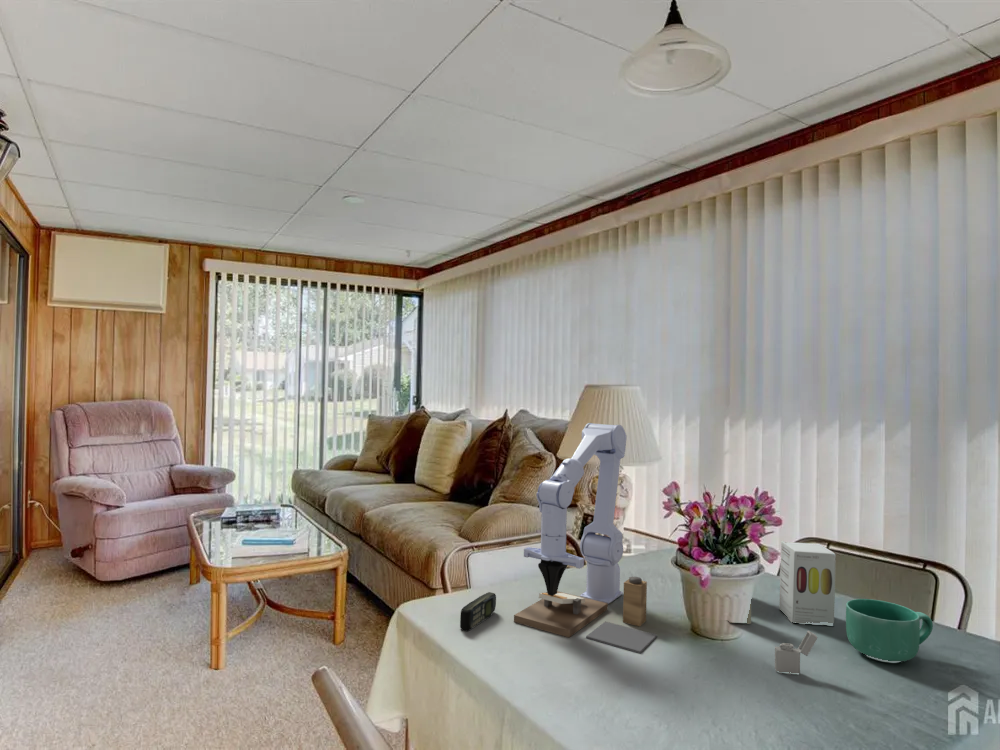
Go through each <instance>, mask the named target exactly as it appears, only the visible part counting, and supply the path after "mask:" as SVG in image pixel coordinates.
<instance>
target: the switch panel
mask: <svg viewBox="0 0 1000 750" xmlns="http://www.w3.org/2000/svg"><path fill="white" fill-rule="evenodd" d="M545 593H547V591H546V592H545ZM557 593H565V594H569V595H573V596H577V597H580V595H575V594H573V593H572V594H571V593H566V592H562V591H559V590H557ZM581 598H584V597H581ZM608 605H609V604H608V603H605V602H601V601H596V600H592V599H588V598H585V603H581V599H580V598H576V599H575V600H573V603H570V604H560V603H557V602H553V601H549V600H545V599H541V598H540V600H537V601H536V602H535V603H532V604H531V605H529V606H527V607H525V608H524V609H522V610H521V611H518V612H517V613H515V614H514V615H513V622H514V623H517V624H521V625H524V626H527V627H531V628H534V629H538V630H541V631H545V632H548V633H552V634H555V635H557V636H558V635H559V636H562V637H566V638H571V637H573V635H575V634H576V633H578V632H579V631H580V630H582V629H583V628H585V627H586V626H587V625H589V624H590V623H591V622H592V621H594V620H595V619H597V618H598V617H600V616H601V615H602V614H604V613H605V612H606V611H608Z"/></svg>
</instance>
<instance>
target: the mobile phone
mask: <svg viewBox="0 0 1000 750" xmlns="http://www.w3.org/2000/svg"><path fill="white" fill-rule="evenodd" d="M496 606H497V595H496V593H495V592H489V591H488V592H486V593H484V594H482V595H479V596H478V597H477V598H475V599H474V600H472V601H470V602H469V603H467V604H466V605H465V606H463V607H462V609H461V610H460V619H459V621H460V622H459V628H460V629H461V630H462V631H464V632H465V631H466V632H469V631H471V630H472V629H473V628H476V627H477V626H478V625H479V624H481V623H483V622H484V621H486V620H487V619H489V618H490V617H491V616H492V615H493V613H494V612H495V610H496Z"/></svg>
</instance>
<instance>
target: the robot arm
mask: <svg viewBox="0 0 1000 750" xmlns="http://www.w3.org/2000/svg"><path fill="white" fill-rule="evenodd" d="M627 437H628V435H627V433H626V431H625V429H624V427H623V425H621V424H604V423H603V424H602V423H593V422H588V423H586V424H585V426H584V428H583V429H582V430H581V441H580V443H579V444H578V445H577V448H576V450H575V451H574V453H573V455H572V456H571V458H570V457H569V458H565V459H563V461H562V462H561V463H560V465H559V467H557V469H556V470H555V471H554V473H553V474H552V476H551V477H550V478H549V479H545V480H544V481H542V482H541V483H540V484H539V485H538V488H537V492H536V499H537V502H538V506H539V507H538V509H539V510H538V511H539V512H540V513H541V517H540V518H541V522H540V523H541V524H540V548H538V547H532V546H527V547H525V548H524V549H523V558H533V559H536V560H540V562H539V563H538V569H539V571H540V573H541V576H542V577H543V580H544V583H545V587H546V592H547V593H548V595H551V596H553V595H555V594H557V591H559V585H560V583H561V579H562V577H563V575H564V573H565V571H566V570H567V567H568V566H569V567H573V568H576V569H579V570H580V569H582V568H584V567H585V561H586V590H585V591H584V592H583V593H581V594H580V595H579V596H580V597H584V598H588V599H592V600H596V601H601V602H605V603H608V605H609V604H611V603H612V602H614V601H615V600H616V599H617V598H619V597H620V596H622V595H624V591H621V590H620V588H621V586H620V585H621V567H620V565H619V562H620V561H621V559H622V558H623V554H624V545H623V533H622V531H621V530H619V529H618V527H617V526H616V525H615V524H614V523H615V522H614V520H615V510H616V504H617V503H616V501H617V492H618V485H619V484H618V483H619V474H620V466H621V459H624V458H625V456H626V446H627ZM593 456H597V458H598V460H599V469H598V479H597V488H596V495H595V496H596V497H595V504H594V511H593V521H592V522H591V523H589V524H588V525H586V526H585V527H584V529H583V534H582V536H581V539H580V542H579V550H580V554H581V555H582V556H583V557H580V556H577V555H574V554H572V553H569V552H567V523H568V522H567V519H568V518H567V515H568V514H567V512H568V511H567V510H568V507H569V506H570V505H571V504H572V500H573V496H574V493H575V488H576V486H577V485H578V483H579V482H580V481H581V479H582V478H583V476H584V474H585V469H584V467H585V466H586V464H587V463H588V462H589V461H590V460H591V458H592V457H593Z"/></svg>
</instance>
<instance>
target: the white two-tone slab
mask: <svg viewBox="0 0 1000 750" xmlns="http://www.w3.org/2000/svg"><path fill="white" fill-rule="evenodd" d="M565 593H566V592H563V593H557V594H555V595H553V596H551V595H548V593H546V592H541V593H538V599H540V600H541V599H545V600H549V601H553V602H557V603H560V604H570V603H573V600H575V599H576V598H580V599H581V603H585V598H581V597H577V596H578V595H576V596H573V595H574V594H572V595H569V594H570V593H567V594H565Z"/></svg>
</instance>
